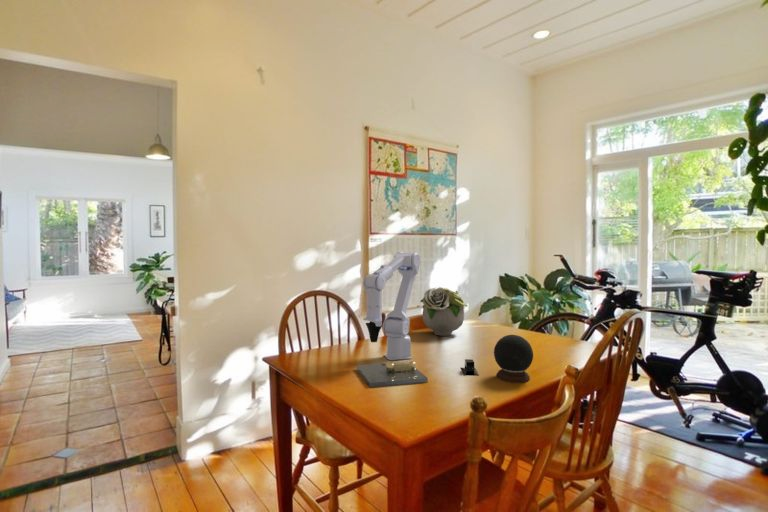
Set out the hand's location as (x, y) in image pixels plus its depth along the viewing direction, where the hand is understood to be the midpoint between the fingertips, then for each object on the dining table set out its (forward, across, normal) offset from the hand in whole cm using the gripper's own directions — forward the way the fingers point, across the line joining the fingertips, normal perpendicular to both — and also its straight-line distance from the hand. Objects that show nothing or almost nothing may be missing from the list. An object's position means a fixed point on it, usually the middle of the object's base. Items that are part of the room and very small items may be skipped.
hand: (373, 341), depth 158 cm
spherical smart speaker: (+10, +25, +44) cm, 52 cm away
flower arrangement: (+10, -45, +49) cm, 67 cm away
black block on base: (+10, +15, +32) cm, 37 cm away
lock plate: (+9, +12, +3) cm, 16 cm away
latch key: (+7, +12, +7) cm, 16 cm away
